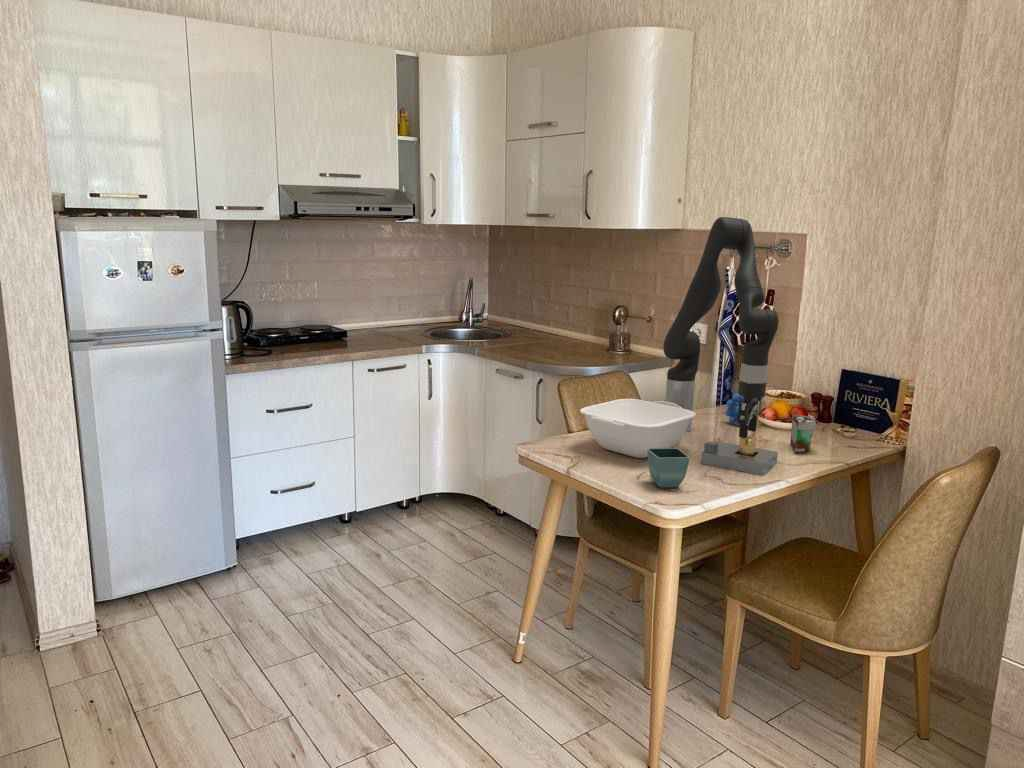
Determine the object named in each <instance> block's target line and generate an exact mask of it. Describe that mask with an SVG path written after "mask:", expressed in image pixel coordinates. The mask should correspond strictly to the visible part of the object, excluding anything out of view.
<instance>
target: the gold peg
mask: <svg viewBox="0 0 1024 768" xmlns="http://www.w3.org/2000/svg"><path fill="white" fill-rule="evenodd" d="M756 444H757V438H756V437H754V436H749V435H747V438H740V437H739V445H740V446H739V455H745V456H750V457H755V448H756V446H757V445H756Z"/></svg>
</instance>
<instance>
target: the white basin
mask: <svg viewBox="0 0 1024 768" xmlns="http://www.w3.org/2000/svg"><path fill="white" fill-rule="evenodd" d="M579 413H581V415H584V417H585V421H586V425H587V427H588V430H589V432H590V434H591V436H592V437H593V438H594V440H595V441H596V442H597V443H598V444H599V446H601V447H602V448H603V449H605V450H607V451H611V452H615V453H619V454H623V455H626V456H629V457H632V458H637V459H645V458H648V450H647V449H650V448H673V447H674V446H676V445H677V443H679V441H680V440H681V439H682V438H683V436H684V435H685V433H686V432H685V431H686V429H687V426H688V424H689V421H690V419H691V418H692V419H693V418H696V416H697V415H696V412H695V411H694V410H693V411H690V410H687V409H682V407H680V406H678V405H677V404H674V403H671V402H666V401H664V400H660V401H658V400H657V401H648V400H642V399H637V398H620V399H613V400H610V401H606V402H601V403H597V404H593V405H589V406H584V407H583V408H580V410H579Z"/></svg>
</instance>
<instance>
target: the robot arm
mask: <svg viewBox="0 0 1024 768" xmlns="http://www.w3.org/2000/svg"><path fill="white" fill-rule="evenodd" d="M753 232H754V231H753V228H752V225H751V224H750V222H749V220H746V219H743V218H737V217H729V216H720V217H718V218H716V219H715V221H714V222H713V224H712V226H711V228H710V230H709V234H708V237H707V241H706V244H705V246H704V249H703V252H702V256H701V259H700V261H699V264H698V266H697V268H696V270H695V273H694V276H693V277H692V280H691V283H690V285H689V287H688V289H687V292H686V294H685V297H684V300H683V302H682V305H681V306H680V309H679V310H678V313H677V316H676V317H675V318H674V321H673V322H672V325H671V326H670V328H669V330H668V331H667V333H666V335H665V337H664V341H663V346H662V347H663V353H664V356H665V357H666V358H667V359H669V360H678V363H676V365H674V366H673V367H671V368H669V369H668V370H667V372H666V385H665V386H666V389H665V399H664V400H663V401H666V402H671V403H674V404H677V405H678V406H680V407H682V409H687V410H690V411H693V412H694V401H695V399H694V398H695V387H696V385H695V384H696V381H695V380H696V375H697V373H698V370H699V363H700V362H699V361H700V355H701V339H700V337H699V335H698V333H697V332H695V331H691V329H692V328H693V327H694V326H695V324H696V323H698V322H699V321H700V320H701V319H702V318H703V317H704V316H706V314H708V313H709V312H710V310H712V309H713V307H714V305H715V303H716V301H717V299H718V296H719V294H720V291H722V290H721V289H722V280H721V275H720V272H719V267H718V262H719V259H720V255H721V253H722V251H723V249H725V250H732V251H737V252H738V255H739V258H740V260H739V261H740V262H739V265H738V267H737V269H736V272H735V274H734V279H733V280H734V282H733V284H734V289H735V292H736V296H737V298H738V304H739V305H738V306H739V307H738V309H739V310H738V312H739V313H738V326H739V327H738V328H739V329H740V331H741V332H742V333H743V334H745V335H758V337H757V338H756V339H755V340H752V341H749V342H746V343H744V345H743V347H742V355H741V365H740V370H739V376H738V378H739V379H738V388H737V394H739V395H740V396H743V397H744V401H743V402H742V403H740V404H739V411H738V420H737V423H738V424H740V426H739V430H738V431H739V432H738V437H739V439H740V438H747V436H749V435H748V434H749V433H748V432H754V433H755V432H756V431H757V425H758V424H757V423H758V419H759V418H760V417H759V416H760V415H761V409H762V400H763V398H765V396H766V393H767V390H766V389H767V380H768V371H769V370H768V364H769V363H768V361H769V352H770V349H771V346H772V344H773V341H774V338H775V336H776V335H777V331H778V327H779V323H780V322H779V321H780V320H779V316H778V314H777V312H776V311H775V310H773V309H770V308H769V309H768V308H767V309H765V308H762V309H761V308H759V309H757V308H758V307H760V306H761V305H762V304H763V303H764V301H765V299H766V298H765V294H764V290H763V287H762V283H761V281H760V277H759V274H758V269H757V258H756V249H755V240H754V234H753ZM743 418H745V420H743ZM692 425H693V418H691V419H690V421H689V424H688V426H687V429H686V431H685V433H687V432H690V431H692Z"/></svg>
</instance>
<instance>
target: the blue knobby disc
mask: <svg viewBox="0 0 1024 768" xmlns="http://www.w3.org/2000/svg"><path fill="white" fill-rule="evenodd" d="M743 401H744V397H743V396H740V395H739V394H738V392H737V393H734V394H733V395H732V397H731V399H728V400H727V401H726V407H727V408H726V409H725V411H724V414H725V416H726V417H729V418H728V422H729V423H730V424H732V425H733V424H735V425H736V426H738V427H740V424H738V423H737V420H738V411H739V404H740V403H742V402H743ZM743 420H745V418H743Z"/></svg>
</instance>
